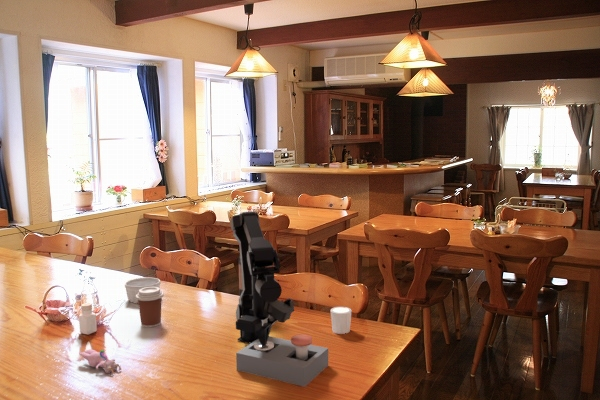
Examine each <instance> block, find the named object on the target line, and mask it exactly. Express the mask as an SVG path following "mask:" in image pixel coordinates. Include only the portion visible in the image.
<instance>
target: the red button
mask: <svg viewBox="0 0 600 400" xmlns="http://www.w3.org/2000/svg"><path fill="white" fill-rule="evenodd" d="M290 341H291V343H292V344H293V345H295V346H296V359H298V360H302V361H304V360H307V359H308V345H312V343H313V337H312V336H311V335H309V334H296V335H293V336H292V337H291V338H290Z"/></svg>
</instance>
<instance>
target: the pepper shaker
mask: <svg viewBox="0 0 600 400" xmlns="http://www.w3.org/2000/svg"><path fill="white" fill-rule="evenodd" d="M78 323H79V333H80V334H83V335H87V336H88V335H91V334H94V333H95V332H97V331H98V326H97V314H96V313H95V312H93V303H91V302H86V303H82V304H81V313H80V314H79V316H78Z"/></svg>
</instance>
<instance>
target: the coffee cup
mask: <svg viewBox="0 0 600 400" xmlns="http://www.w3.org/2000/svg"><path fill="white" fill-rule="evenodd" d="M138 292H139V293H138V294H137V295H136V299H137V300H138V303H137V304H138V311H139V316H140V317H139V318H140V325H141V327H142V328H143V327H144V328H154V327H155V328H156V327H159V326H161V324H162V298H164V296H165V295H164V292H163V291H161V287H160V288H158V287H145V288H142V289H140V290H139V291H138Z"/></svg>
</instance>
